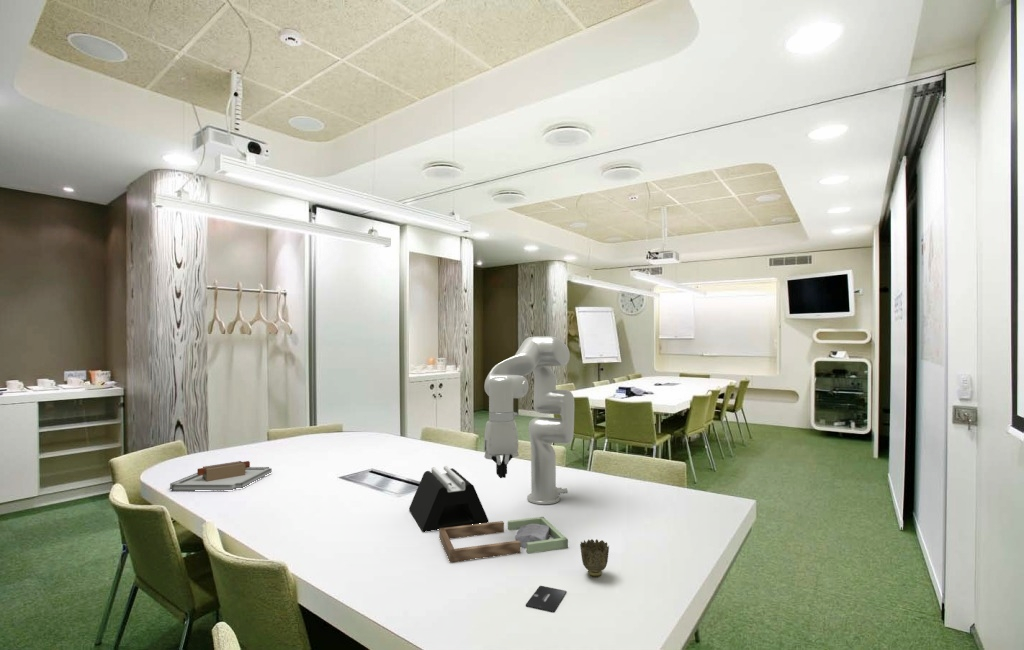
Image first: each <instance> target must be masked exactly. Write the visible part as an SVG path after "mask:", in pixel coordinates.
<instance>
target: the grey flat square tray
mask: <svg viewBox="0 0 1024 650" xmlns="http://www.w3.org/2000/svg"><path fill="white" fill-rule="evenodd" d="M271 472H272V468H271V467H270V466H251V461H249V460H246V461H241V460H237V461H231V462H225V463H220V464H211V465H205V466H202V467H200V468H197V472H194V473H193V474H191V475H187V476H185V477H183V478H181V479H179V480H178V479H177V480H176V481H173V482H170V484H169V485H170V486H169V490H170V489H172V490H171V492H196V491H195V490H233V489H235V488H243V487H245V486H247V485H249V484H250V483H252V482H254V481H256V480H258V479H260V478H262V477H264V476H265V475H267V474H269V473H271ZM272 473H273V472H272ZM249 486H250V485H249ZM247 487H248V486H247ZM245 488H246V487H245Z"/></svg>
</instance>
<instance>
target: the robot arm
mask: <svg viewBox="0 0 1024 650" xmlns="http://www.w3.org/2000/svg"><path fill="white" fill-rule="evenodd" d="M570 353H571V352H570V350H569V347H568V345H566V343H564V342H563V341H562V340H561V339H560V338H558V337H555V336H551V335H546V336H545V335H544V336H543V335H542V336H540V335H539V336H534V335H533V336H530V337H526V338H525V339H524V340H523V342H522V344H521V345H520V346H519V348H518V350H517V351H516V352H515V354H514V355H513V356H510V357H509V358H506V359H504V360H503V361H501V362H499V363H497V364H495V365H494V366H493V367H492V368H491V370H490V371H489V373H488V374H487V376H486V378H485V380H484V392H485V393H486V394H487V396H488V403H489V404H488V406H489V407H488V420H487V421H486V423H485V430H484V441H483V443H484V445H483V450H484V456H483V457H484V458H485V459H486V460H491V461H493V462H494V463H495V466H496V467H495V468H496V475H497V476H498V478H500V479H504V478H505V479H506V476H507V474H508V464H509V462H510V461H511V460H512V459H513V458H516V457H519V435H518V428H517V427H518V426H517V424H516V423H517V422H516V420H515V418H517V417H518V416H519V414H518V412H515V411H514V399H522V398H524V397H525V396H526V395H527V394H528V391H529V387H530V386H529V382H528V379H527V378H526V376H528V375H529V374H532V373H533V376H534V387H533V409H534V410H535V412H537V413H538V414H545V415H546V414H547V415H560V417H549V416H538V417H537V416H536V417H533V418H532V419H531V420H530V421H529V423H528V436H529V441H530V463H531V464H530V468H531V469H530V478H531V479H530V481H531V482H530V484H531V485H530V486H531V488H530V489H531V493H529V494H528V495H527V501H528V502H529V503H531V504H535V505H554V504H557V503H558V502H560V500H561V497H560V495H564V494H565V495H566V494H568V492H569V490H568V488H562V487H557V483H556V482H557V481H556V480H557V478H556V477H557V476H556V475H557V473H556V472H557V470H556V469H557V468H556V467H557V466H556V465H557V464H556V457H557V455H556V452H555V449H554V447H553V446H552V445H551V444H564V445H566V444H570V443H571V442H572V441H573V439H574V433H575V430H574V429H575V397H574V394H573V393H572V391H570V390H567V389H557V376H556V374H555V372H554V370H553V369H552V368H551V367H564V366H566V365H567V364H568V363H569V362H570V357H571V354H570ZM501 456H502V459H501Z"/></svg>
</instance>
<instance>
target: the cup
mask: <svg viewBox="0 0 1024 650" xmlns="http://www.w3.org/2000/svg"><path fill="white" fill-rule="evenodd" d="M579 545H580V546H579V547H580V552H581V561H582V565H583V567H584V568H585V569H586V570H587V574H588V576H589V577H591V578H594V579H596V578H600V577H601V576H602V575H603V571H604V570H605V569H606V567H607V565H608V559H609V550H610V545H608V542H606V541H604V540H600V541H599V539H595V540H594V539H592V538H591V539H589V538H588V539H587V541H586V540H585V539H584V540H583V541H580V544H579Z"/></svg>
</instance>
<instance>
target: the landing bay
mask: <svg viewBox="0 0 1024 650" xmlns="http://www.w3.org/2000/svg"><path fill="white" fill-rule="evenodd" d="M529 524H540V525H544V526H548V525H549V531H550V532H549V536H550V537H551V539H550V538H549V539H548V540H542V541H535V542H527V543H526V548H525V549H526V553H527V554H534V553H539V552H540V553H541V552H542V553H543V552H547V551H555V550H556V551H557V550H562V549H563V550H564V549H568V548H569V539H568V538H567V537H566V536H565V535H564V534H563V532H561V531H560V530H558V528H556V527H555V526H554V525H553V524H552V523H551V522H550V521H549V520H547V518H545V516H537V517H528V518H522V519H513V520H512V519H511V520H507V530H508V531H512V530H515V531H516V530H519V529H520V527H521V526H525V525H529Z"/></svg>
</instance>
